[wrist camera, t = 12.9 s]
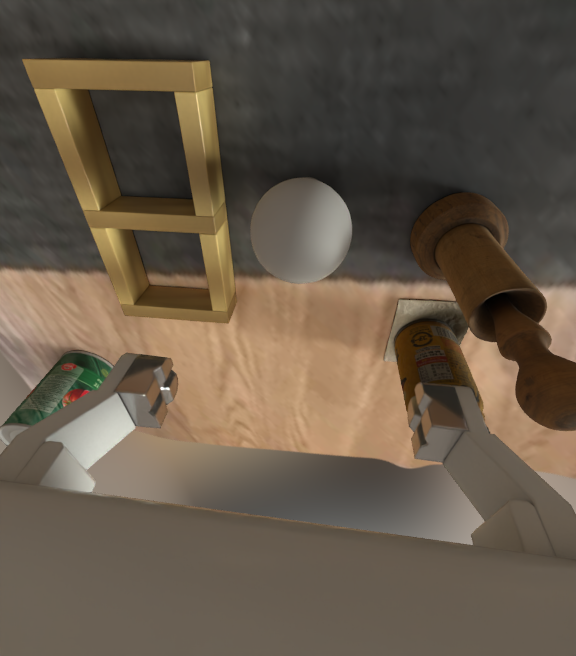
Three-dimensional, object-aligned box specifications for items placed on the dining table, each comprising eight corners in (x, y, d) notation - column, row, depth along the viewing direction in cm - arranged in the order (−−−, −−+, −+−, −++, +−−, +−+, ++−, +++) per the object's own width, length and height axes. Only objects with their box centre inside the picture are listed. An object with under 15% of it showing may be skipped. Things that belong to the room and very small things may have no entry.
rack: (58, 57, 22) (21, 58, 19) (209, 60, 21) (191, 61, 19) (140, 295, 35) (124, 315, 32) (237, 302, 34) (228, 323, 31)
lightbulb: (321, 128, 23) (314, 172, 15) (361, 201, 26) (374, 273, 18) (254, 179, 26) (216, 240, 17) (298, 240, 29) (283, 318, 20)
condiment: (383, 359, 37) (399, 460, 28) (399, 298, 31) (425, 399, 22) (450, 364, 36) (489, 469, 27) (478, 302, 31) (538, 408, 22)
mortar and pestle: (428, 280, 30) (509, 473, 16) (396, 224, 27) (460, 404, 13) (508, 240, 27) (691, 439, 13) (481, 172, 24) (682, 338, 10)
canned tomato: (48, 358, 43) (-20, 432, 35) (89, 343, 40) (26, 420, 32) (93, 394, 48) (42, 467, 39) (133, 383, 45) (87, 459, 36)
